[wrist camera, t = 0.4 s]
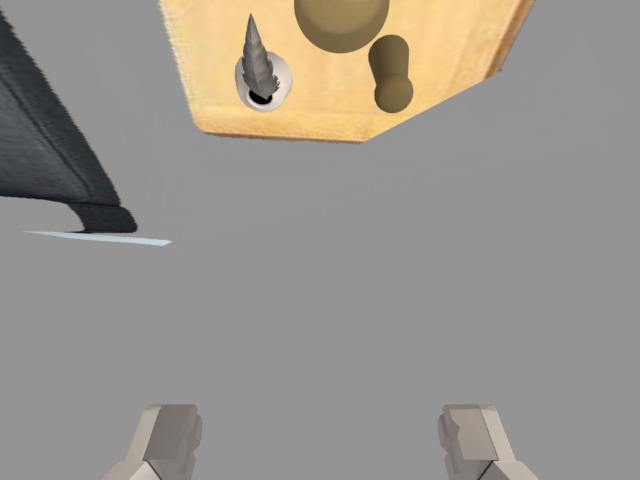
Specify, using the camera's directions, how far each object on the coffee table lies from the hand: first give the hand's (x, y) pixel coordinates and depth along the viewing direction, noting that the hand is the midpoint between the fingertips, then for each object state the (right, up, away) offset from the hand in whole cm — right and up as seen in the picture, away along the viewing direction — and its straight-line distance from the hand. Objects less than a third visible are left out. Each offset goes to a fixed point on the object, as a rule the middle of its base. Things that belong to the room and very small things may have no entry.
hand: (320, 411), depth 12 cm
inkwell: (-9, +34, +42) cm, 55 cm away
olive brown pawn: (+10, +33, +42) cm, 55 cm away
